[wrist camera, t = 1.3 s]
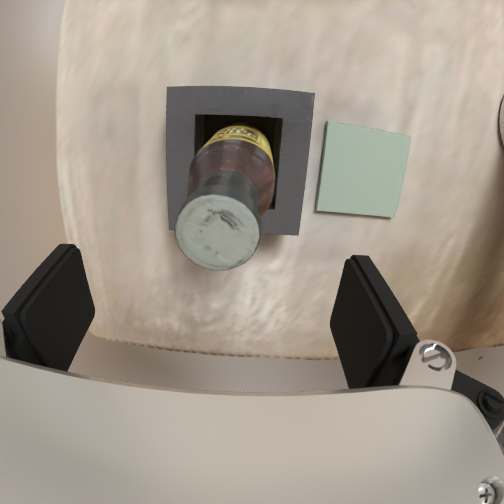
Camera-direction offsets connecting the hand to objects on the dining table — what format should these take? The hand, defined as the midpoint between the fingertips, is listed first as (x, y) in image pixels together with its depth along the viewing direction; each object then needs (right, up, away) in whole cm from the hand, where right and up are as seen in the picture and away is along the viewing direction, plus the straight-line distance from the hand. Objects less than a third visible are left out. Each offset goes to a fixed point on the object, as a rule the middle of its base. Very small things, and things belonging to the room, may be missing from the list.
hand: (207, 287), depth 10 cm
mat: (+14, +10, +22) cm, 28 cm away
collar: (0, +12, +21) cm, 24 cm away
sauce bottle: (0, +12, +21) cm, 24 cm away
